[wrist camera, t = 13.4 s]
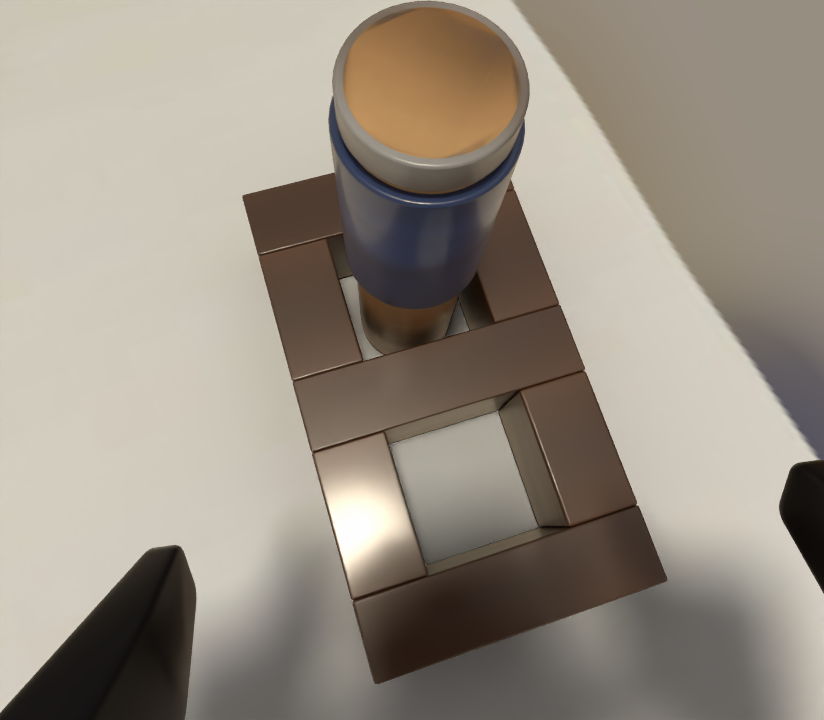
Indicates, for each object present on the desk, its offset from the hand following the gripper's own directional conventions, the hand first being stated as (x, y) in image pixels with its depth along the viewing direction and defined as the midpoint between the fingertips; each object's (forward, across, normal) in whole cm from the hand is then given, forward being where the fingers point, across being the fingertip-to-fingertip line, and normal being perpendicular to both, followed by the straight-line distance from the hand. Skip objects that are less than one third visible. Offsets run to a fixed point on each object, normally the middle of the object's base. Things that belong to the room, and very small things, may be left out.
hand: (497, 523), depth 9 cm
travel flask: (+14, 0, +3) cm, 14 cm away
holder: (+12, -1, +6) cm, 13 cm away
